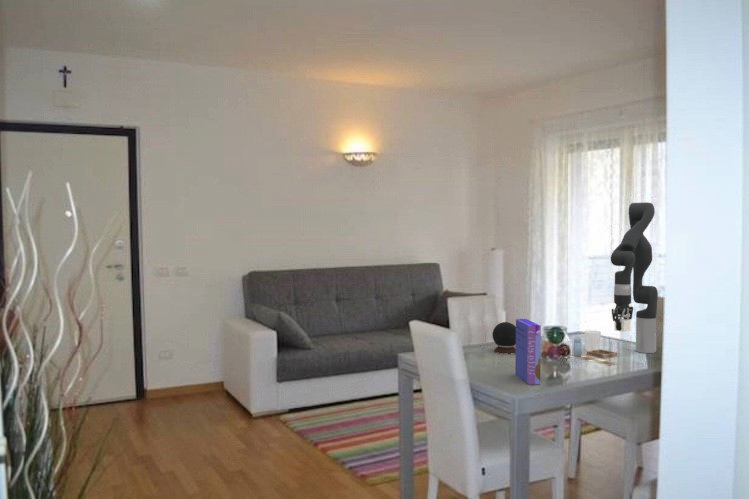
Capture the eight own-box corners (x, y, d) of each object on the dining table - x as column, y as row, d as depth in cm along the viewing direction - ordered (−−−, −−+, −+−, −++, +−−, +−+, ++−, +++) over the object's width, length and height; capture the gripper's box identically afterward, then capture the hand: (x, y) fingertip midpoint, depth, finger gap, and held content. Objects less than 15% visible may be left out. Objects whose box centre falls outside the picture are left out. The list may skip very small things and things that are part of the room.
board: (577, 355, 305) (577, 354, 305) (617, 364, 287) (617, 362, 287) (568, 357, 301) (568, 356, 301) (607, 366, 283) (607, 364, 283)
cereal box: (540, 384, 251) (540, 325, 250) (528, 385, 250) (529, 325, 249) (526, 374, 268) (526, 318, 267) (515, 374, 268) (515, 318, 267)
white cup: (583, 352, 314) (583, 332, 314) (584, 349, 322) (584, 329, 321) (600, 353, 311) (600, 333, 311) (600, 350, 319) (601, 330, 318)
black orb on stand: (524, 352, 314) (524, 322, 313) (506, 355, 306) (506, 325, 306) (505, 348, 325) (505, 319, 324) (486, 351, 317) (487, 321, 316)
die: (620, 329, 298) (620, 318, 297) (630, 330, 294) (630, 319, 293) (614, 330, 295) (614, 319, 295) (623, 331, 291) (624, 321, 290)
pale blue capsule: (576, 355, 303) (576, 336, 303) (583, 356, 300) (583, 337, 300) (572, 356, 301) (572, 336, 301) (578, 357, 298) (578, 338, 298)
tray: (599, 353, 310) (599, 349, 310) (617, 357, 302) (617, 352, 302) (586, 356, 304) (586, 351, 304) (604, 359, 296) (604, 355, 296)
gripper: (624, 291, 300) (624, 326, 301) (606, 293, 292) (605, 330, 293) (638, 293, 294) (638, 328, 295) (620, 295, 286) (620, 332, 287)
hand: (622, 329), depth 294 cm, fingers closed on die, 5 cm apart
